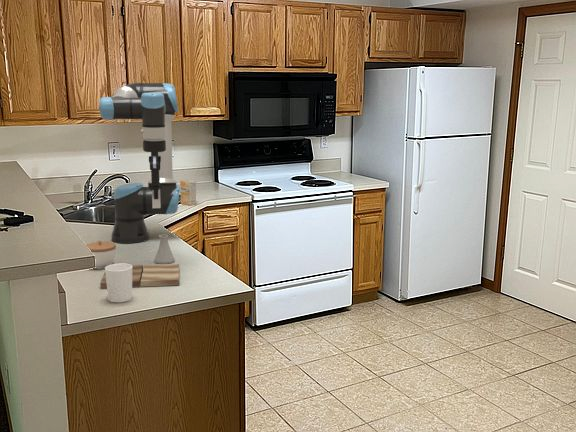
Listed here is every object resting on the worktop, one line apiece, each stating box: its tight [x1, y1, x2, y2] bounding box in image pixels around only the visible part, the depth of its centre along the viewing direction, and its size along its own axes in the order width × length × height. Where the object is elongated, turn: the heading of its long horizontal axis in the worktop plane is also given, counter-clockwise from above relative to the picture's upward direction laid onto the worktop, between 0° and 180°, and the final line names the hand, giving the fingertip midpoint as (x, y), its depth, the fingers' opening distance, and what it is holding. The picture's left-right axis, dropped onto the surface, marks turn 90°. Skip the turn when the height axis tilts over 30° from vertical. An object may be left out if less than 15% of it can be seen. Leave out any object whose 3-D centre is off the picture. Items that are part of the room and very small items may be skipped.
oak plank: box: [140, 263, 180, 287], centre depth 196 cm, size 18×12×2 cm, turn 10°
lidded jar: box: [85, 240, 117, 270], centre depth 207 cm, size 11×11×9 cm
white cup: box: [104, 262, 133, 303], centre depth 175 cm, size 8×8×10 cm
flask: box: [153, 233, 176, 264], centre depth 213 cm, size 7×7×10 cm
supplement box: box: [179, 179, 197, 207], centre depth 321 cm, size 8×5×13 cm, turn 50°
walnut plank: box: [99, 264, 144, 290], centre depth 194 cm, size 18×12×2 cm, turn 10°
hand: (156, 207), depth 202 cm, fingers closed
